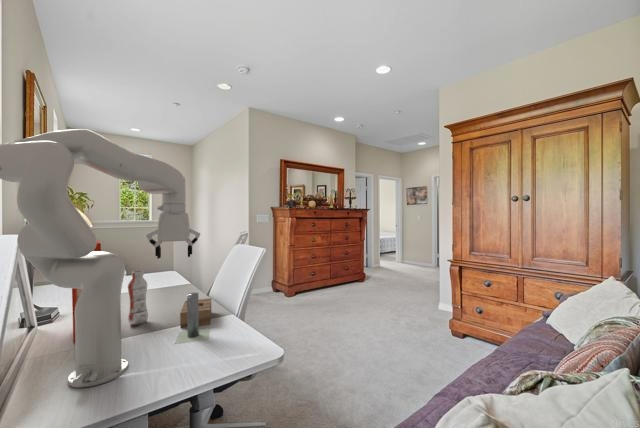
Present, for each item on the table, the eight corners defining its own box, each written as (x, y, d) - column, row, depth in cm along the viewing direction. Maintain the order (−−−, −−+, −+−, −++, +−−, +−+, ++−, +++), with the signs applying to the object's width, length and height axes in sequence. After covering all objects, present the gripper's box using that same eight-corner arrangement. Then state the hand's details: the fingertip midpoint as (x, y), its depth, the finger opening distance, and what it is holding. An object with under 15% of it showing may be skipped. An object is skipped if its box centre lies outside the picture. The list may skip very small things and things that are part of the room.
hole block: (210, 325, 109) (209, 309, 109) (180, 329, 106) (180, 312, 106) (211, 312, 124) (211, 298, 124) (185, 315, 121) (185, 300, 121)
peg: (198, 336, 98) (197, 294, 98) (187, 338, 97) (186, 295, 97) (199, 332, 101) (198, 292, 101) (188, 334, 100) (187, 293, 100)
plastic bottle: (152, 320, 115) (151, 269, 115) (140, 327, 109) (139, 273, 109) (136, 320, 116) (136, 269, 116) (123, 327, 109) (123, 273, 109)
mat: (208, 340, 96) (208, 339, 96) (174, 345, 93) (174, 343, 93) (209, 329, 105) (209, 328, 105) (178, 333, 102) (178, 332, 102)
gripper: (144, 209, 99) (144, 260, 99) (200, 209, 105) (200, 257, 105) (148, 209, 106) (148, 257, 106) (200, 209, 112) (200, 254, 112)
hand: (174, 257), depth 105 cm, fingers open, 9 cm apart
